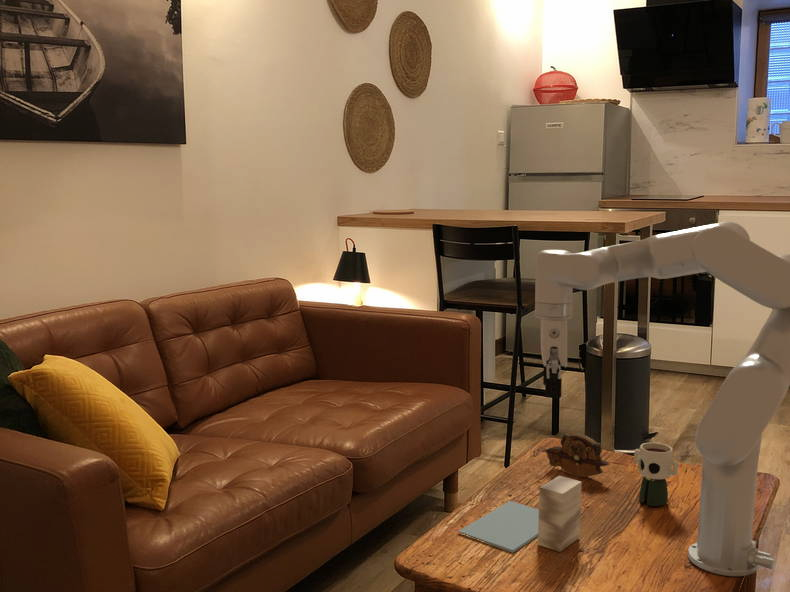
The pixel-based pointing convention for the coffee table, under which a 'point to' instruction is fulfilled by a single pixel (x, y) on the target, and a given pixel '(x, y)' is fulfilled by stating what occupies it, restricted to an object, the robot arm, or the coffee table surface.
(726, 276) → the robot arm
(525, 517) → the grey mat
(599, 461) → the wooden carving
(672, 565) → the coffee table surface
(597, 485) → the coffee table surface
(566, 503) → the birch block
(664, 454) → the character mug
